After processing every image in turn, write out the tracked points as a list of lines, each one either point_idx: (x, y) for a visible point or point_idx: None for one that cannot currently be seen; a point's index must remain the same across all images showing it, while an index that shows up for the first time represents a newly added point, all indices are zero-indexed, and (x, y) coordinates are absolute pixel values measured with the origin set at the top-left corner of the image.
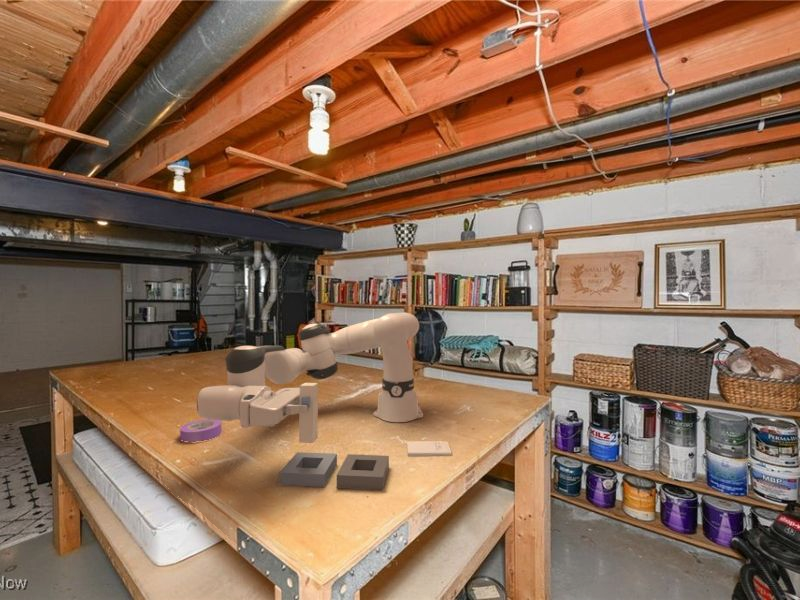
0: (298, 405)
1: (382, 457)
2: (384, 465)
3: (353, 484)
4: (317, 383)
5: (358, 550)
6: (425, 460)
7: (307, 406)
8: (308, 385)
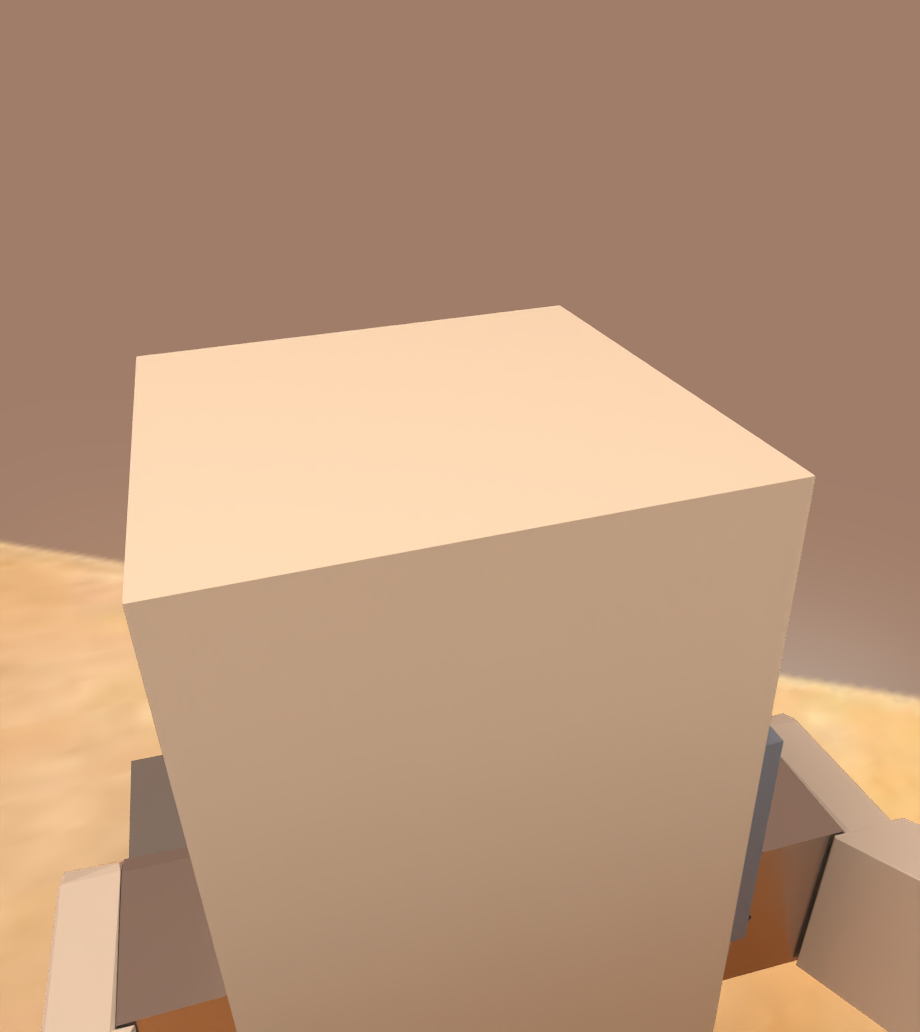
0: (916, 827)
1: (164, 785)
2: None
3: None
4: (194, 352)
5: (876, 692)
6: (32, 684)
7: None
8: (590, 358)
